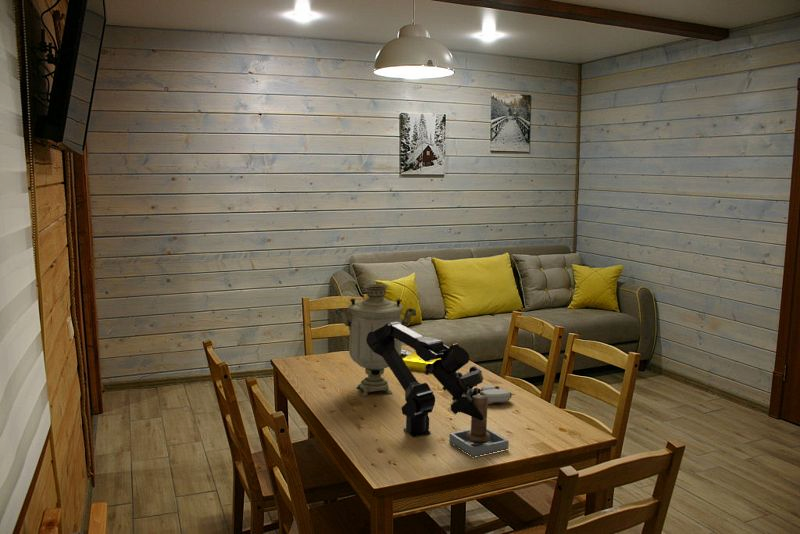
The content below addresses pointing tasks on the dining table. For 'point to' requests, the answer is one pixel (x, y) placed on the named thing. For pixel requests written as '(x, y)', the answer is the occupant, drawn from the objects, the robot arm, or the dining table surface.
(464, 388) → the robot arm
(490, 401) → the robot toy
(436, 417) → the dining table surface
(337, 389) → the dining table surface
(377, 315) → the samovar
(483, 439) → the handle
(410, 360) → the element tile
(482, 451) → the box
